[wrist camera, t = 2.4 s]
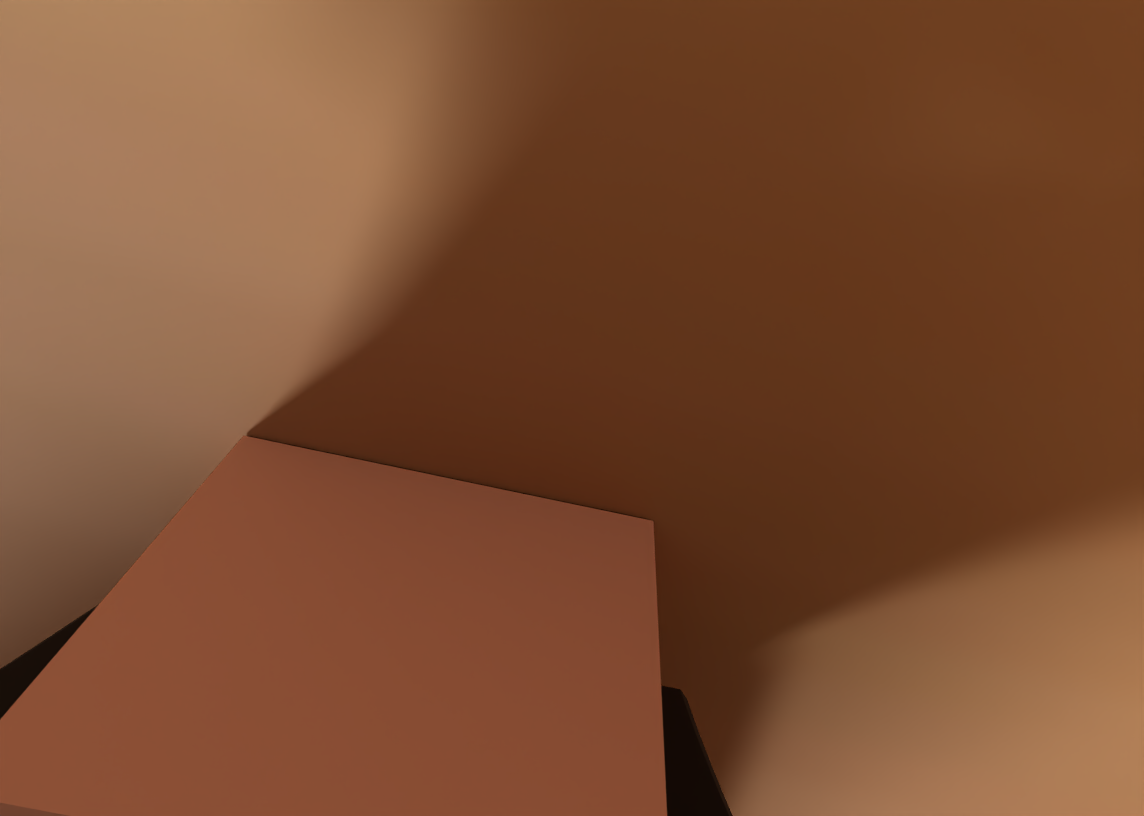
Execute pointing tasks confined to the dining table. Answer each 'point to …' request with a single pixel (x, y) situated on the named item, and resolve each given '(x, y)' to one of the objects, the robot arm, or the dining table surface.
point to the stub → (356, 657)
